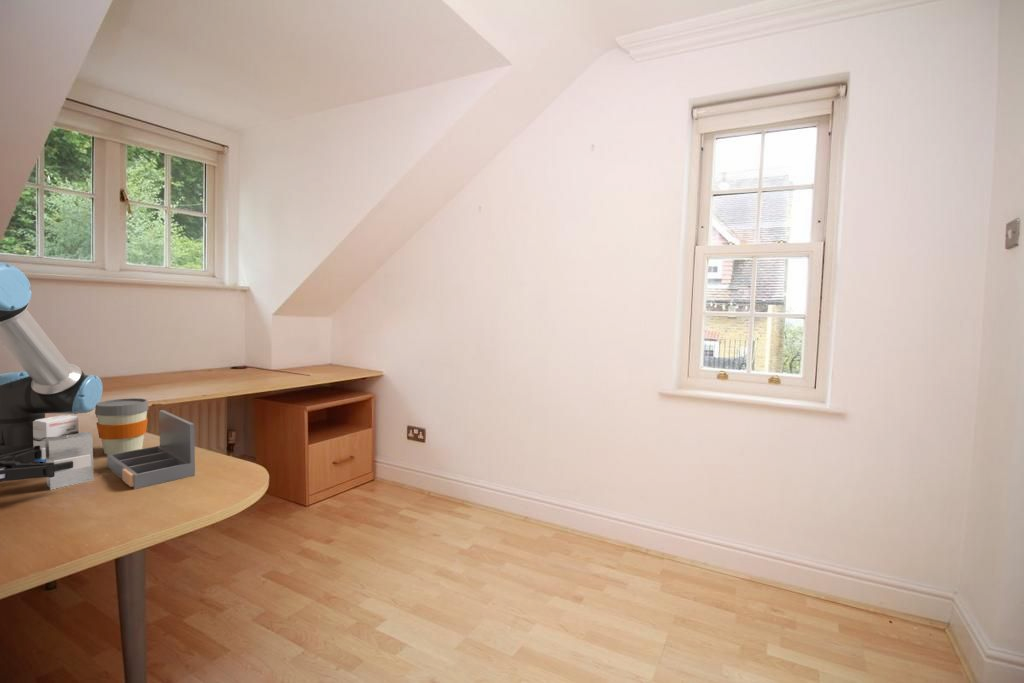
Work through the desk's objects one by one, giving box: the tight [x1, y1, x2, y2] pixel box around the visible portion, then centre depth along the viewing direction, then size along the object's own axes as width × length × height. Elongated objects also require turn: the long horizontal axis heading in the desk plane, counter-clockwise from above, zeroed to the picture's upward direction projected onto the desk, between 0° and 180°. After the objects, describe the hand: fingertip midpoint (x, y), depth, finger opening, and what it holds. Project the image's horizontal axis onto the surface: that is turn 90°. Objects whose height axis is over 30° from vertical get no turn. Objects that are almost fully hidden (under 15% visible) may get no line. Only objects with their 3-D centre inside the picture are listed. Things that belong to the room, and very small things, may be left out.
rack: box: [106, 409, 196, 490], centre depth 129 cm, size 23×14×14 cm, turn 53°
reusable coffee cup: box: [94, 397, 149, 456], centre depth 144 cm, size 13×13×15 cm
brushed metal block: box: [45, 431, 95, 491], centre depth 119 cm, size 4×8×12 cm, turn 143°
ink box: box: [33, 414, 79, 463], centre depth 136 cm, size 8×5×12 cm, turn 168°
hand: (83, 454), depth 121 cm, fingers open, 13 cm apart
